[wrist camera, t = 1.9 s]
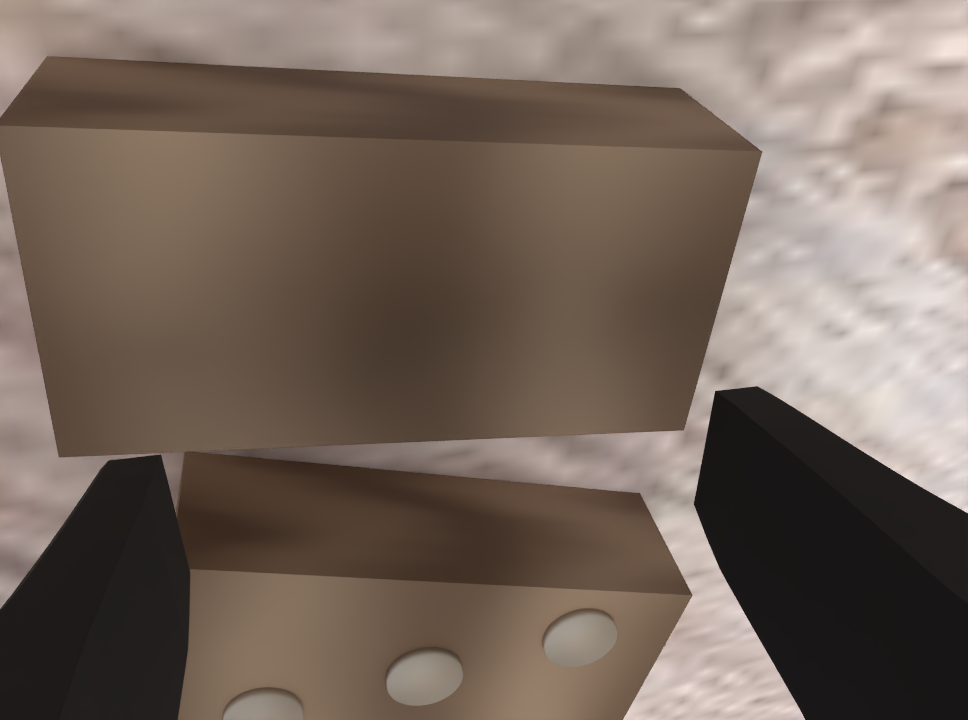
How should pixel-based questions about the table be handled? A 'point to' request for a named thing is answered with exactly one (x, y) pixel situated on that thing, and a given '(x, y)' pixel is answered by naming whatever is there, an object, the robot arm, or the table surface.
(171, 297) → the plain block
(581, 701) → the pip block three
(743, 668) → the table surface
